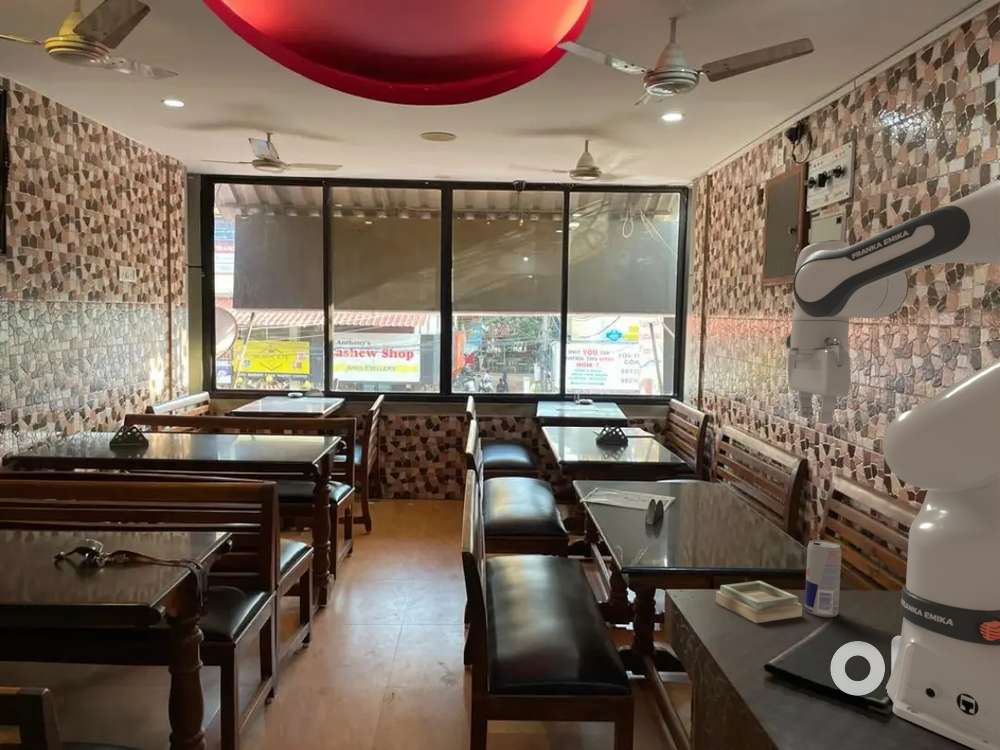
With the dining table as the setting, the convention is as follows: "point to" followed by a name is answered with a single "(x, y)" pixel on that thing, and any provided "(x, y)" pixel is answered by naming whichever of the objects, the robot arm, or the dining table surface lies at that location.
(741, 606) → the plinth
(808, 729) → the dining table surface
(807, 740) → the dining table surface
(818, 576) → the energy drink
